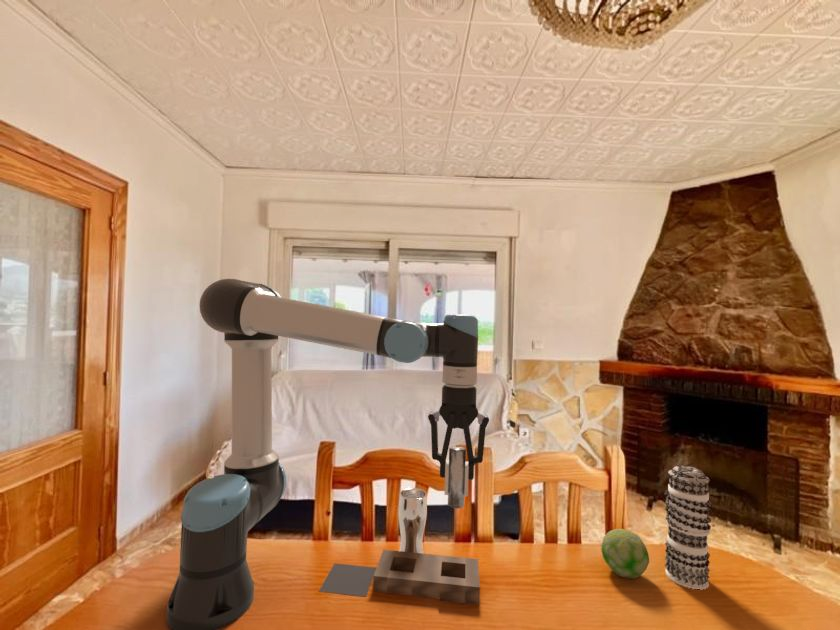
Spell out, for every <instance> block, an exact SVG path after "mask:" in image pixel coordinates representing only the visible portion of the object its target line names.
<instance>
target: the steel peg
mask: <svg viewBox="0 0 840 630" xmlns="http://www.w3.org/2000/svg"><path fill="white" fill-rule="evenodd" d="M466 453H467V449H466V447H463V446H451V447H450V446H449V448H448V460H449V481H448V495H447V506H448V507H450V508H453V509H463V508H464V507H465V496H464V487H465V461H466V459H467V458H466V457H467V456H466V455H467V454H466Z"/></svg>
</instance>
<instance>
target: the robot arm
mask: <svg viewBox="0 0 840 630" xmlns="http://www.w3.org/2000/svg"><path fill="white" fill-rule="evenodd" d="M199 312H200V317H202V320H203V321H204V322H205V323H206V324H207V326H209V327H210V328H212V329H213V330H215V331H217V332H219V333H222V334H224V336H223V337H224V340H223V341H224V343H225V344H226V345H227V346H228V347H230V348H231V454H230V455H229V456H228V457H227V458H226V459H225V460H224V463H223V465H224V467H223V469H224V470H223V474H218V475H215V476H212V478H210V477H209V478H205V479H203V480H201V481H198V483H196V484H195V485H193V486H192V487H191V488H189V490H188V491H187V493H186V494H185V496H184V499H183V504H182V509H181V514H180V522H181V530H180V533H181V534H180V554H179V557H180V558H179V572H178V575H177V579H176V580H175V583H174V586H173V587H172V592H171V593H170V597H169V598H168V601H167V604H166V605H167V606H166V614H165V615H166V616H165V619H166V624H167V627H169V628H170V630H220V629H223V628H224V627H226V626H229V625H230V624H232V623H234V622H235V621H237V620H238V619H240V618H241V617H242V616H244V615H245V613H247V611H248V610H249V609H250V608H251V606H252V604H253V601H254V597H255V583H254V580H253V578H252V574H251V570H250V568H249V565H248V564H249V563H248V561H247V548H248V547H247V546H248V533H249V531H250V530H251V529H252V528H253V527H254V526H255V525H257V523H258V522H260V521H261V520H262V519H263V518H264V517H265V516H266V515H267V514H268V513H270V512H271V511H272V510H273V509H274V508H275V507H276V506H277V505H278V503H279V501H280V500H281V499H282V497H283V496H284V493H285V491H286V488H287V475H286V471H285V469H284V467H282V466H281V463H280V461H279V457H280V456H279V453H277V452H276V451H274V450H273V437H272V436H273V435H272V434H273V424H272V423H273V421H272V420H273V419H272V418H273V417H272V414H273V413H272V412H273V407H272V406H273V405H272V399H273V398H272V397H273V396H272V395H273V394H272V393H273V392H272V390H273V389H272V383H273V381H272V377H273V375H272V371H273V370H272V364H273V363H272V359H273V357H272V348H273V346H275V344H276V343H277V342H279V337H283V338H286V339H287V338H288V339H293V340H297V341H303V342H309V343H313V344H319V345H322V346H323V345H324V346H329V347H335V348H339V349H344V350H350V351H353V352H354V351H355V352H360V353H366V354H370V355H374V356H375V355H376V356H380V357H384V358H389V359H393V360H394V361H396V362H399V363H405V364H411V363H415V362H417V360H420V359H421V358H423V357H425V358H426V357H428V358H430V357H431V358H442V360H443V361H442V383H443V384H444V385H442V387H441V388H442V389H441V406H439V409H438V410H436V411H434V412H433V411H430V412H429V413H428V416H427V419H428V420H429V424H430V427H431V428H430V431H431V434H430V435H431V458H432V460H434V461H435V460H436V461H437V462H439V476H440V478H443V479H444V493H443V494H444V495H445V496H448V481H449V459H447V456H448V454H449V448H450V443H451V437H452V434H453V429H461V430H463V435H464V442H465V449H466V453H467V454H466V455H467V456H466V457H467V461H466V460H465V487H464V497H469V480H471V481H473V480H474V478H475V477H474V476H475V465H476V464H478V463H479V464H480V463H481V464H482V462H483V460H484V450H485V449H484V448H485V441H486V440H485V439H486V438H485V437H486V428H487V426H488V424H489V421H490V418H489V415H487V414H483V413H480V412H479V410H478V408H477V387H476V385H477V383H478V355H479V353H478V351H479V350H478V348H479V323H478V322H479V320H478V318H477V317H476V316H474V315H472V314H471V315H470V314H446V315H445V316H444V317H443V318H444V319H443V321H442V322H439V323H438V322H437V323H433V322H432V323H431V322H415V321H411V320H402V319H397V318H392V317H385V316H381V315H375V314H370V313H365V312H359V311H354V310H349V309H344V308H338V307H334V306H328V305H322V304H318V303H317V304H316V303H313V302H312V303H311V302H308V301H302V300H296V299H290V298H285V297H282V296H281V295H280V294H279V292H278V291H276V289H273V288H272V287H270V286H267V285H265V284H263V283H255V282H252V281H251V282H249V281H245V280H241V279H237V278H236V279H235V278H224V279H223V278H222V279H219V280H217V281H214V282H213V283H211V284H209V285H208V286H207V287H206V288H205V290H204V291H203V292H202V294H201V297H200V299H199ZM440 417H441V418H442V420H443V421H444V423H445V424H446V425H447V426H446V431H445V434H444V435H445V436H444V440H443V445H442V449H441V452H439V438H438V436H439V429H438V422H439V421H440ZM476 418H477V423H478V424H479V427H478V428H479V429H478V438H477V451H476V455H474V449H473V443H472V439H471V437H472V436H471V432H470V426H471V425H472V424H473V422H474V421H475V420H476Z"/></svg>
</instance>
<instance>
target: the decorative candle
mask: <svg viewBox="0 0 840 630" xmlns="http://www.w3.org/2000/svg"><path fill="white" fill-rule="evenodd" d="M667 473H668V475H669V478H668V479H669V480H668V481H669V482H668V484H667V489H666V490H665V492H664V496H665V497H666V499H665V505H666V506H665V509H664V510H665V513H666V515H665V516H666V517H665V521H666V522H665V523H666V524H667V526H668V528H667V529H668V530H667V532H668V533H667V534H666V536H667V537H666V541H665V546H666V549H664V551H665V553H666V555H664V560H665V563H664V566H665V569H664V572H665V575H666V577H667V578H669V580H670V581H672V582H674V583H675V584H677V585H679V586H681V585H682V587H683V586H684V587H683V588H686V587H688V588H687V589H690V588H692V589H691V590H694V589H700V590H699V591H704V590H707V589H708V588H709V586H710V583H709V579H710V576H709V574H710V571H711V569H710V568H709V565H710V564H711V562H710V560H709V559H710V557H711V554H710V553H709V545H708V536H709V535H710V533H711V531H710V530H711V528H712V526H711V525H710V523H711V520H712V519H711V518H710V517H709V516H708V515H711V514H712V513H713V510H712V509H710V508H711V507H713V504H712V503H713V502H711V501H710V500H709V499H710V492H709V482H710V481H711V480H710V478H709V477H708V476H706V474H705V473H704V472H703V470H700V469H699V468H696V467H693V466H690V465H689V466H688V465H675V466H674V467H673V468H672V469H669V470H668V471H667ZM706 588H707V589H706ZM703 589H704V590H703Z"/></svg>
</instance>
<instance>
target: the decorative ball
mask: <svg viewBox="0 0 840 630" xmlns="http://www.w3.org/2000/svg"><path fill="white" fill-rule="evenodd" d="M601 541H602V542H601V547H600V549H601V550H600V551H601V553H602V558H603V561H604V562H605V563H606V565H607V566H608V568H609V569H610V570H611V571H612V572H614V573H615V574H616V575H618V576H620V577H621V578H624V579H625V578H627V579H628V578H629V579H636V578H638V577H641V576H643V573H645V571H646V570H647V568H648V566H649V564H650V558H649V557H650V556H649V552H648V548H647V547H646V545H645V543H644V541H643V540H642V538H641V537H640V536H639V535H638V534H636V533H635V532H632V531H631V530H628V529H624V528H614V529H612V530H609V531H608V532H607V533H606V534H605V536H603V538H602V540H601Z"/></svg>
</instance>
